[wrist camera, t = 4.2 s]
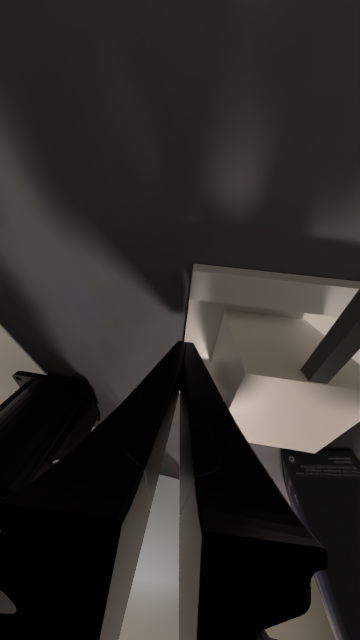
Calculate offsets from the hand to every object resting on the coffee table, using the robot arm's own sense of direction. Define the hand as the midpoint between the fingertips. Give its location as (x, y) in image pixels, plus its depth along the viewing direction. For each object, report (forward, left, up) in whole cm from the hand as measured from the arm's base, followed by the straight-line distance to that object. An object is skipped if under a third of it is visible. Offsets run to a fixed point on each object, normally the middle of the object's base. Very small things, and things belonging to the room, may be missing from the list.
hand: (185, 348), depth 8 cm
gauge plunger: (+4, +1, -1) cm, 4 cm away
